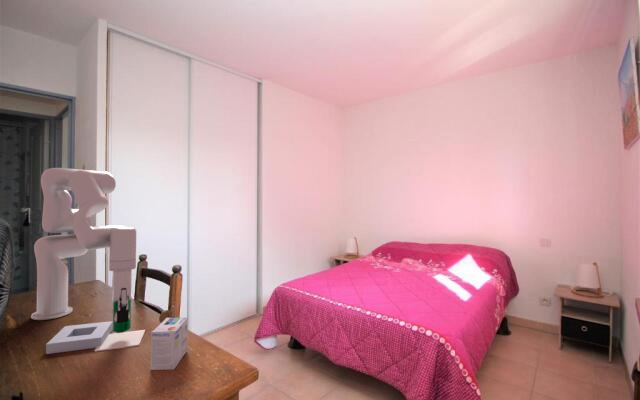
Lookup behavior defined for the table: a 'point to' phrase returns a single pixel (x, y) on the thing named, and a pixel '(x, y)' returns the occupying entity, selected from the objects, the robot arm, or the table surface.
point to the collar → (79, 337)
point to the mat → (121, 340)
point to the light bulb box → (168, 343)
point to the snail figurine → (167, 314)
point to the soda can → (125, 325)
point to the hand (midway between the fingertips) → (122, 318)
